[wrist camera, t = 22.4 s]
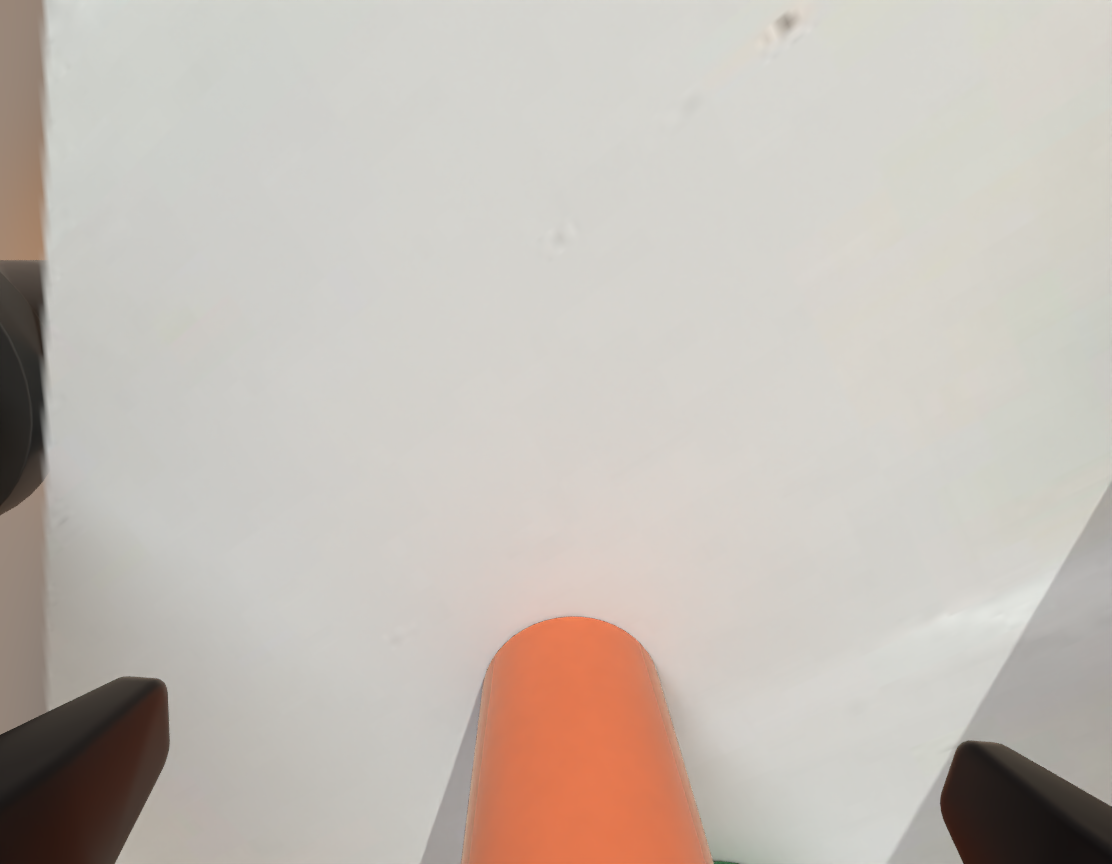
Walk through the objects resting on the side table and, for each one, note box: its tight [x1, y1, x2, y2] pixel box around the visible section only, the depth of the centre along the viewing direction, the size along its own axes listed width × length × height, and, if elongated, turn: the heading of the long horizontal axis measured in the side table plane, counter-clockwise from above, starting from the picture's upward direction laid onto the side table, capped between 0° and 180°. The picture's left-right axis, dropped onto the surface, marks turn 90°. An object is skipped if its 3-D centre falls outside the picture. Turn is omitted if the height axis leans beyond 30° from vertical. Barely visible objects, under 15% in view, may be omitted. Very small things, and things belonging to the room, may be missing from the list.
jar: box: [461, 617, 714, 864], centre depth 16 cm, size 6×6×11 cm
